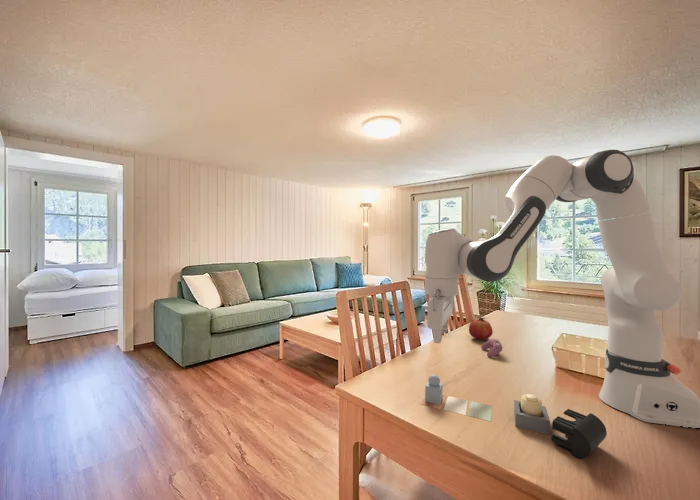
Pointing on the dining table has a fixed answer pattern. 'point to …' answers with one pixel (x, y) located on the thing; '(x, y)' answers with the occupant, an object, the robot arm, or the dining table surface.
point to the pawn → (433, 390)
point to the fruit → (480, 329)
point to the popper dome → (531, 405)
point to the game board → (463, 407)
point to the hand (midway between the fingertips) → (440, 337)
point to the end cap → (579, 433)
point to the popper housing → (531, 419)
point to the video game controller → (492, 347)
